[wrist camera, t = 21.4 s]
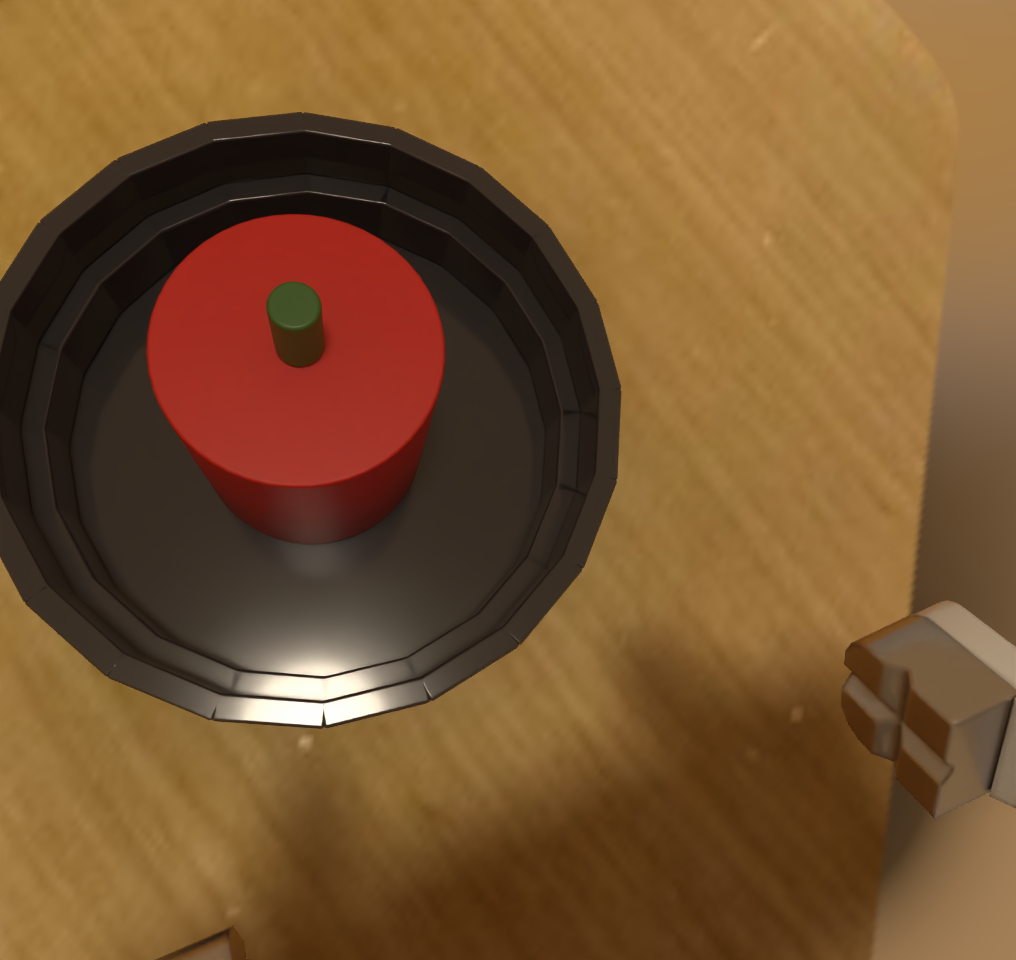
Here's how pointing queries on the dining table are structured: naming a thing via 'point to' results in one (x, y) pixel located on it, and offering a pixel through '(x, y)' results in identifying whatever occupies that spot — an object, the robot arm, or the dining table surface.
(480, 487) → the pan
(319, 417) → the pepper
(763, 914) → the dining table surface
